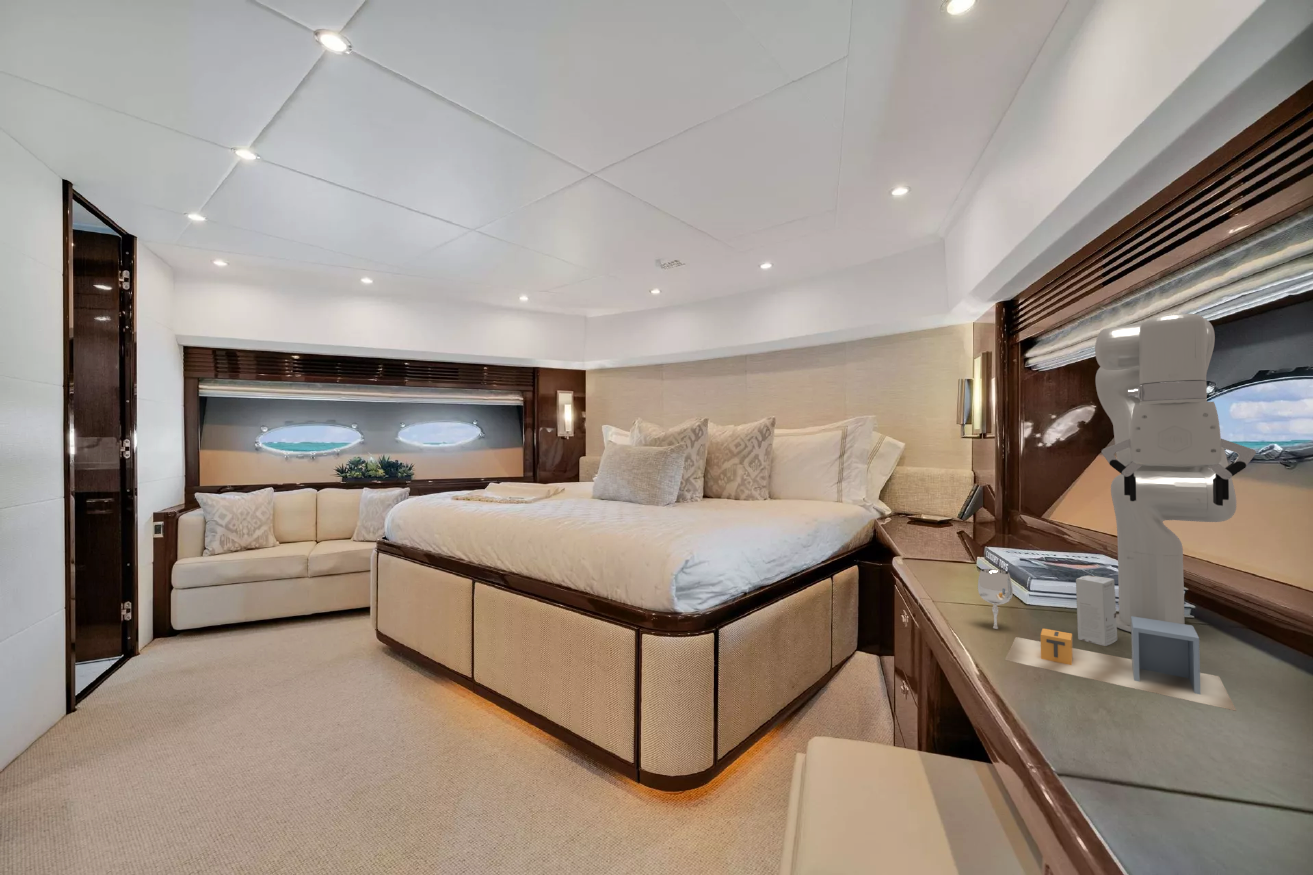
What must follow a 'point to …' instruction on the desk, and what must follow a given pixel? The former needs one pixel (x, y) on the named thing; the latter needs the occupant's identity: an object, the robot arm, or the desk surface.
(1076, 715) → the desk surface
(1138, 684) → the board
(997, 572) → the wineglass
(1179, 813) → the desk surface
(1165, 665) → the grey open-front cubby
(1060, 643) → the letter cube
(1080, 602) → the skincare box
